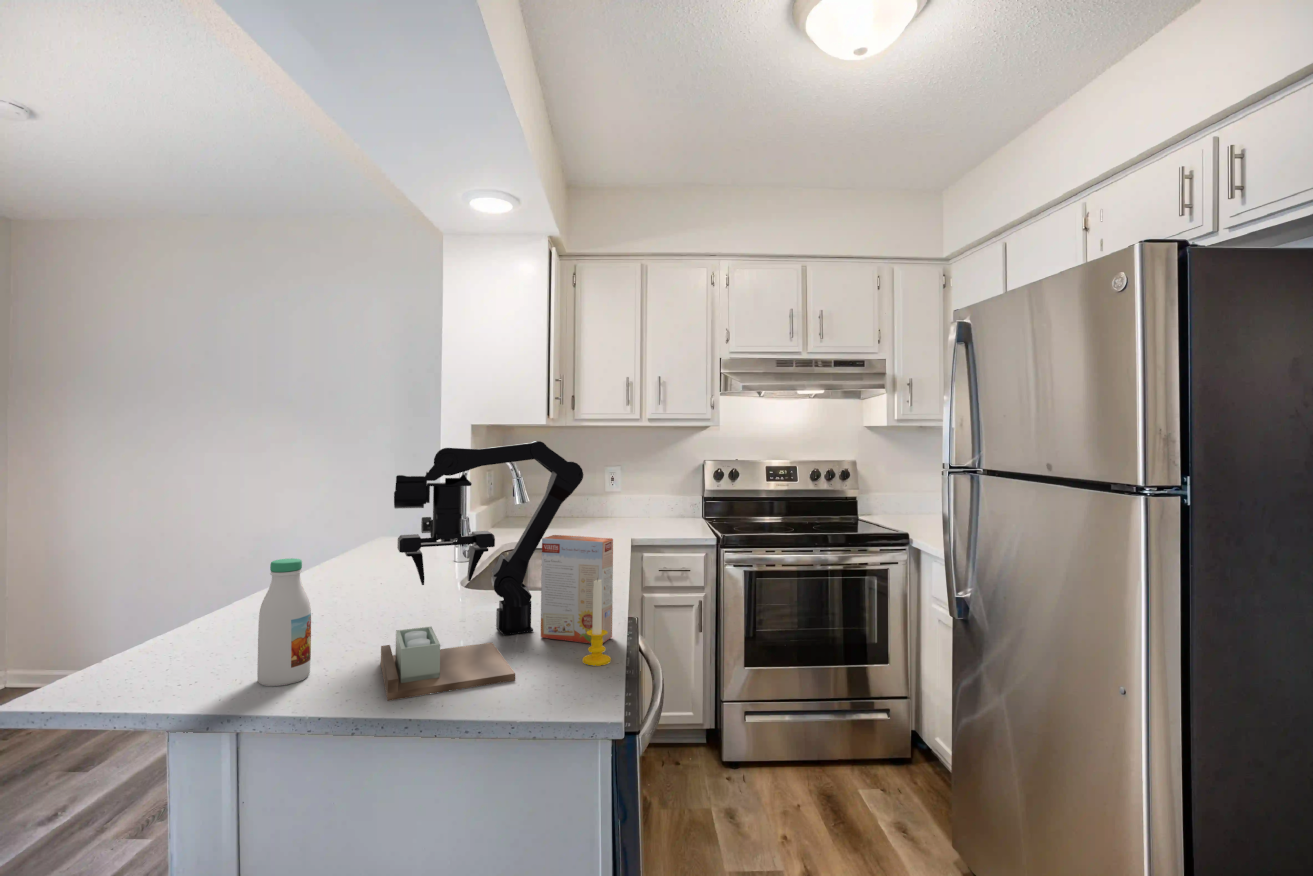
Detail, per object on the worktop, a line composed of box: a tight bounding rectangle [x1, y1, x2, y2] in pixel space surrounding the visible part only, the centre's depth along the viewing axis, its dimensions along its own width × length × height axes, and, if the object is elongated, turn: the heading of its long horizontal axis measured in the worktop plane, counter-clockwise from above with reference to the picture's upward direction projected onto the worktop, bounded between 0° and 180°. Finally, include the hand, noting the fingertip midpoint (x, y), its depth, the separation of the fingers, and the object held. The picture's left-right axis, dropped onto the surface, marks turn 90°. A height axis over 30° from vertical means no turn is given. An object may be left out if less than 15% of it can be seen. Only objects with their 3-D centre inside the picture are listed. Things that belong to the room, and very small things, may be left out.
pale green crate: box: [395, 626, 441, 683], centre depth 108 cm, size 6×11×6 cm, turn 27°
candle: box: [582, 578, 612, 667], centre depth 116 cm, size 5×5×16 cm
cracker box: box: [540, 534, 614, 644], centre depth 130 cm, size 14×6×21 cm, turn 71°
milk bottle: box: [257, 557, 312, 687], centre depth 106 cm, size 8×8×20 cm
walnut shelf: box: [380, 642, 516, 702], centre depth 110 cm, size 20×18×3 cm
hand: (446, 582), depth 130 cm, fingers open, 9 cm apart
